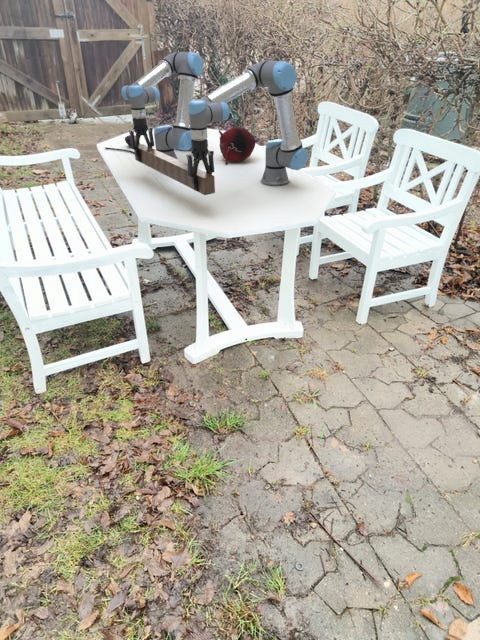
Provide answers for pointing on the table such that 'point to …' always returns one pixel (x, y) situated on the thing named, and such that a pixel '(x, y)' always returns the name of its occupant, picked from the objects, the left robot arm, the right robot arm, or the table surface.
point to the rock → (129, 140)
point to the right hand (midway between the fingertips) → (202, 189)
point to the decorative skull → (236, 144)
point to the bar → (175, 169)
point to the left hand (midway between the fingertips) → (144, 160)
